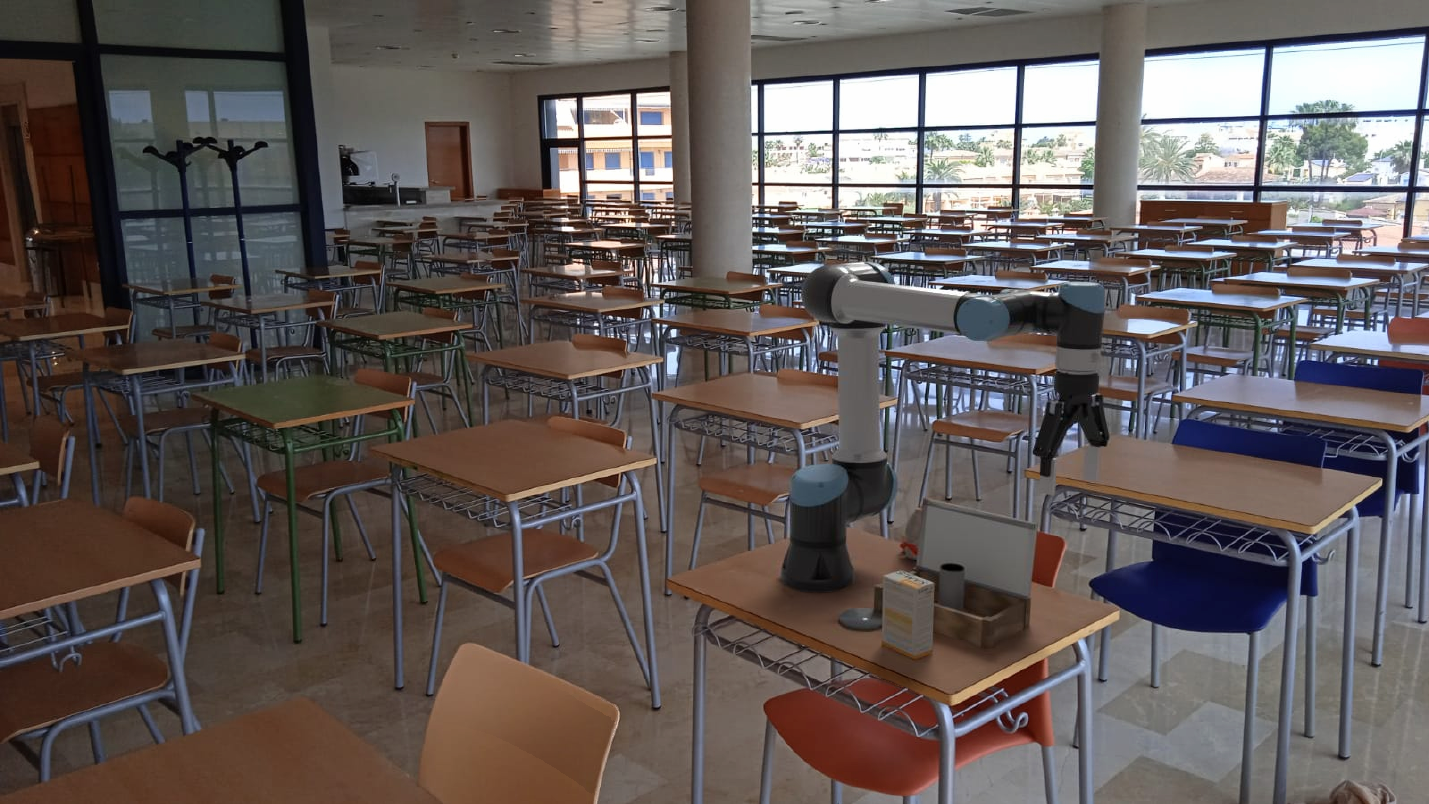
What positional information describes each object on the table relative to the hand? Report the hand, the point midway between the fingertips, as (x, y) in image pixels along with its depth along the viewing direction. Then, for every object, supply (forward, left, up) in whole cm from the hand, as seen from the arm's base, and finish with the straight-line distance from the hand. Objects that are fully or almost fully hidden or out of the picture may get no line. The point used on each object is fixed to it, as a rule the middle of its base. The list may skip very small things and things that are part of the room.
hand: (1069, 487), depth 189 cm
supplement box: (-15, -28, -27) cm, 41 cm away
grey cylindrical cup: (-16, -11, -27) cm, 33 cm away
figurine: (-40, +14, -27) cm, 50 cm away
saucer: (-28, -23, -27) cm, 45 cm away
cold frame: (-16, -11, -27) cm, 33 cm away
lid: (-16, -4, -14) cm, 22 cm away
